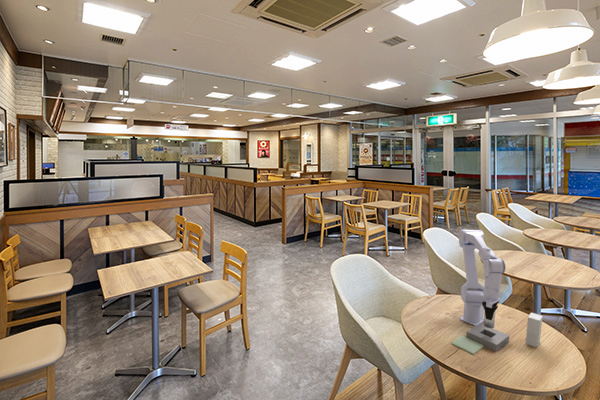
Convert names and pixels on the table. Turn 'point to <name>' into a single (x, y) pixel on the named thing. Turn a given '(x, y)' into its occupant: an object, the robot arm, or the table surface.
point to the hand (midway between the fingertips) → (489, 317)
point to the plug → (489, 321)
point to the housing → (488, 337)
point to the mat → (467, 344)
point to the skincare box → (533, 329)
